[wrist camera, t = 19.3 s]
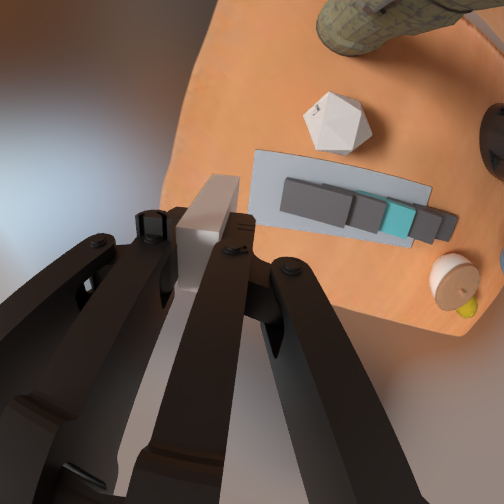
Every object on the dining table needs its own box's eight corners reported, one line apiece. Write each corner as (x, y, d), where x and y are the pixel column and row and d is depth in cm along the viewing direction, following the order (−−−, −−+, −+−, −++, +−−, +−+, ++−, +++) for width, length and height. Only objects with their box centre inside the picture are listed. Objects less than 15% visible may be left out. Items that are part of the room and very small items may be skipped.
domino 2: (323, 183, 40) (385, 201, 38) (316, 212, 43) (376, 230, 41) (321, 185, 39) (386, 204, 37) (315, 216, 42) (376, 234, 39)
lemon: (446, 303, 52) (460, 327, 45) (451, 285, 49) (467, 309, 42) (464, 298, 51) (478, 321, 44) (469, 280, 48) (485, 303, 41)
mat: (430, 186, 39) (432, 187, 39) (409, 247, 45) (410, 248, 45) (255, 149, 39) (255, 149, 38) (246, 221, 45) (246, 223, 45)
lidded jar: (468, 245, 44) (492, 271, 36) (451, 287, 49) (470, 315, 41) (431, 242, 44) (454, 270, 36) (414, 287, 50) (431, 318, 42)
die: (352, 89, 33) (324, 74, 27) (389, 135, 33) (370, 129, 26) (316, 121, 39) (281, 116, 32) (348, 165, 38) (319, 169, 32)
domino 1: (287, 177, 40) (352, 194, 38) (282, 207, 43) (344, 224, 41) (284, 179, 39) (352, 197, 37) (279, 210, 42) (343, 228, 39)
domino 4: (413, 202, 40) (453, 214, 40) (404, 228, 43) (444, 237, 43) (417, 206, 39) (458, 217, 39) (407, 233, 42) (448, 241, 42)
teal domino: (356, 189, 40) (414, 207, 38) (348, 218, 43) (404, 235, 41) (356, 192, 39) (416, 211, 37) (348, 221, 42) (405, 239, 39)
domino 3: (387, 196, 40) (440, 214, 38) (379, 223, 43) (430, 240, 41) (388, 199, 39) (442, 218, 37) (379, 227, 42) (431, 244, 39)
